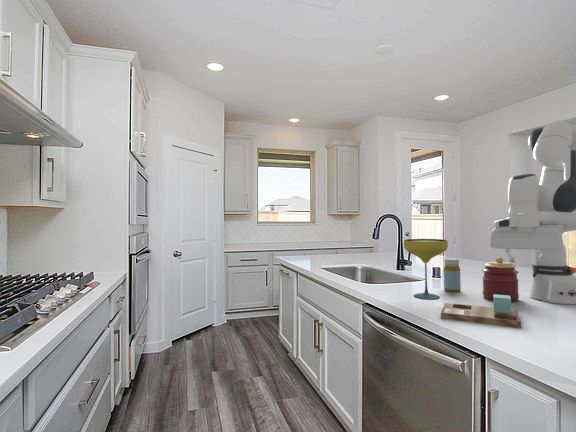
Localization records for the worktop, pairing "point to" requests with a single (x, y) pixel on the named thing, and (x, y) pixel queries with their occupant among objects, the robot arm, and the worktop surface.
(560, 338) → the worktop surface
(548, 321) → the worktop surface
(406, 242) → the cocktail glass
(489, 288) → the canister
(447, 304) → the board
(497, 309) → the teal block
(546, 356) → the worktop surface
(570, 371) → the worktop surface
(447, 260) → the bottle
